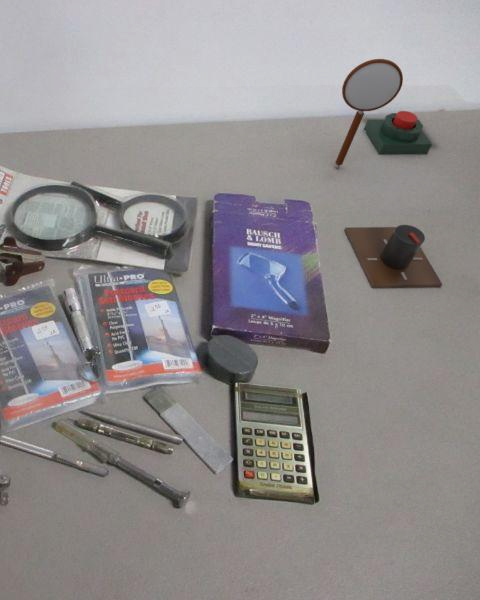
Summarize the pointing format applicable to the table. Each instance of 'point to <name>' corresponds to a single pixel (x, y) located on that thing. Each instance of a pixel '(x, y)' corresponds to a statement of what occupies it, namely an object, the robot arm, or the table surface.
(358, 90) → the magnifying glass
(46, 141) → the table surface
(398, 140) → the button box
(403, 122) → the button
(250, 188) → the table surface
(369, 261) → the panel
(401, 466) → the table surface
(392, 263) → the knob
